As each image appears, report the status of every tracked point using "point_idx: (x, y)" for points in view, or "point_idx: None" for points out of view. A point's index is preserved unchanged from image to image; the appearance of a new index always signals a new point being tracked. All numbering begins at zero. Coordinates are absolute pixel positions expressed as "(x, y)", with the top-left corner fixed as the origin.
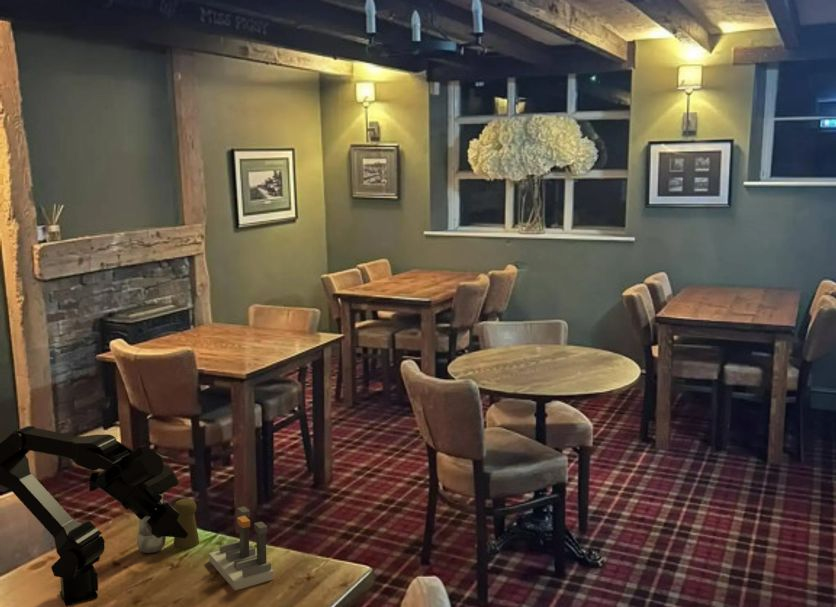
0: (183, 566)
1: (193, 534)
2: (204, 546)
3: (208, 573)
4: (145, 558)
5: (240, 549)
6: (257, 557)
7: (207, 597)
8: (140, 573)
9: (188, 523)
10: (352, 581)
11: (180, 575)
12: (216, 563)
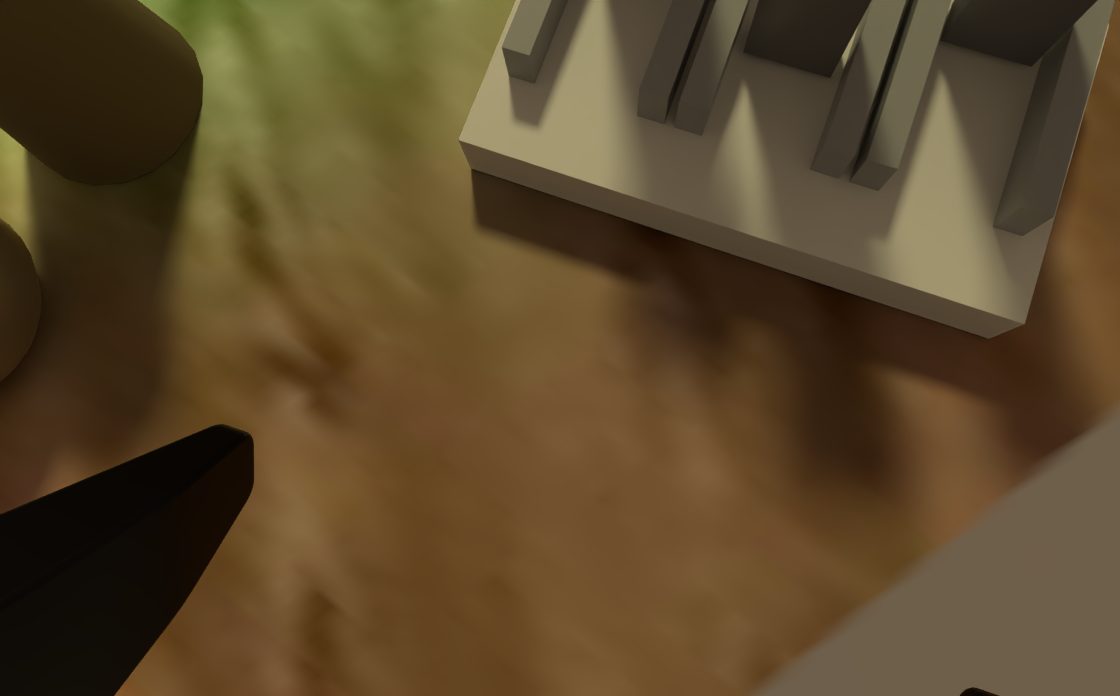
0: (373, 332)
1: (136, 39)
2: (258, 48)
3: (613, 288)
4: (33, 426)
5: (768, 8)
6: (983, 5)
7: (911, 530)
8: (188, 602)
9: (41, 6)
10: None
11: (467, 435)
12: (617, 198)
